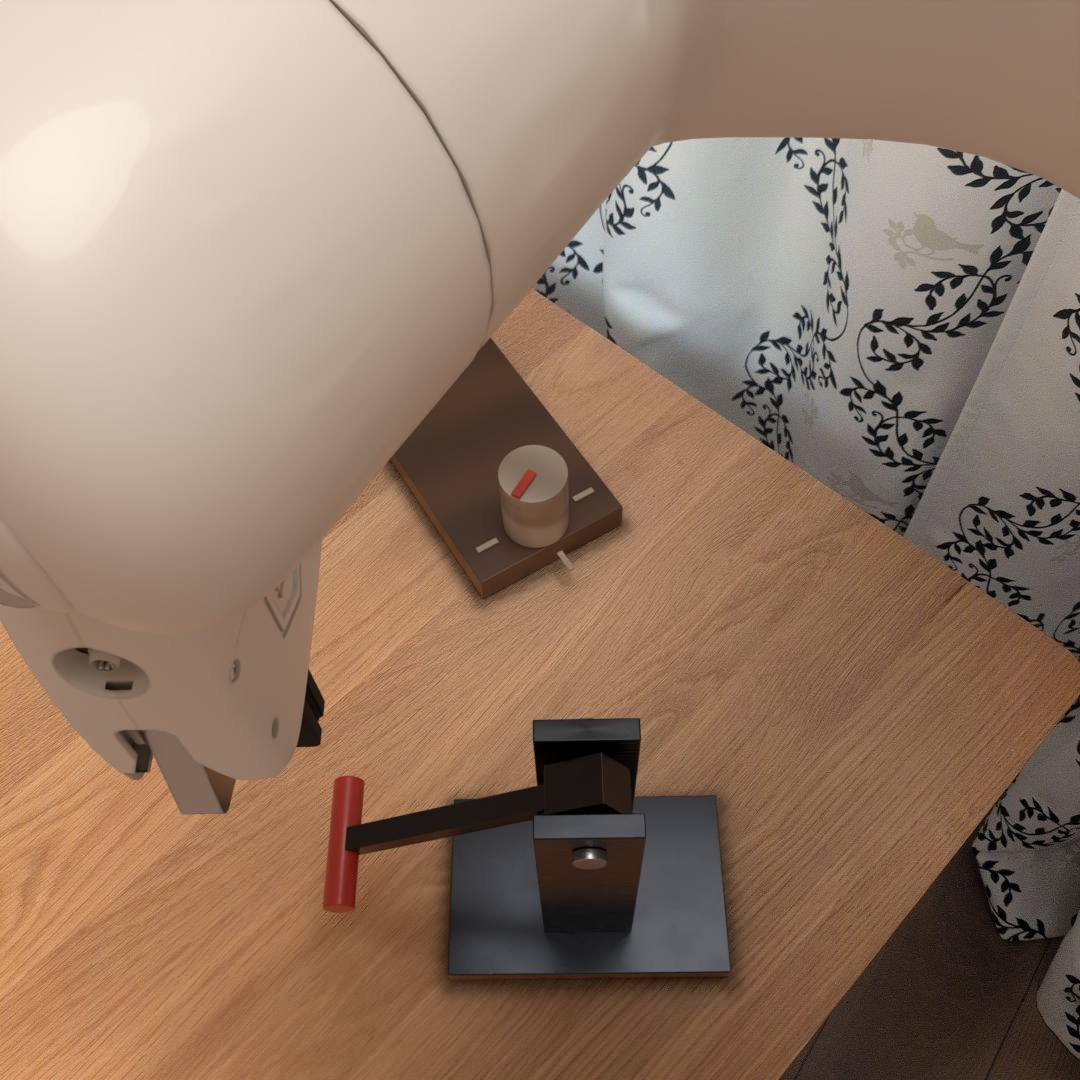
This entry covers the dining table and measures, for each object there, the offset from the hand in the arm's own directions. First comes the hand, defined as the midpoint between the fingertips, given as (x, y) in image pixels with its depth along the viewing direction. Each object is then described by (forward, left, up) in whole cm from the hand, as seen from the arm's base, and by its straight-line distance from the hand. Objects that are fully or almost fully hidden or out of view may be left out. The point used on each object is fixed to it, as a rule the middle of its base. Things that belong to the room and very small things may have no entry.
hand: (279, 726), depth 41 cm
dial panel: (+3, -27, -23) cm, 36 cm away
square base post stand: (-10, -4, -23) cm, 26 cm away
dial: (-1, -23, -21) cm, 31 cm away
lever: (-6, -2, -12) cm, 14 cm away
